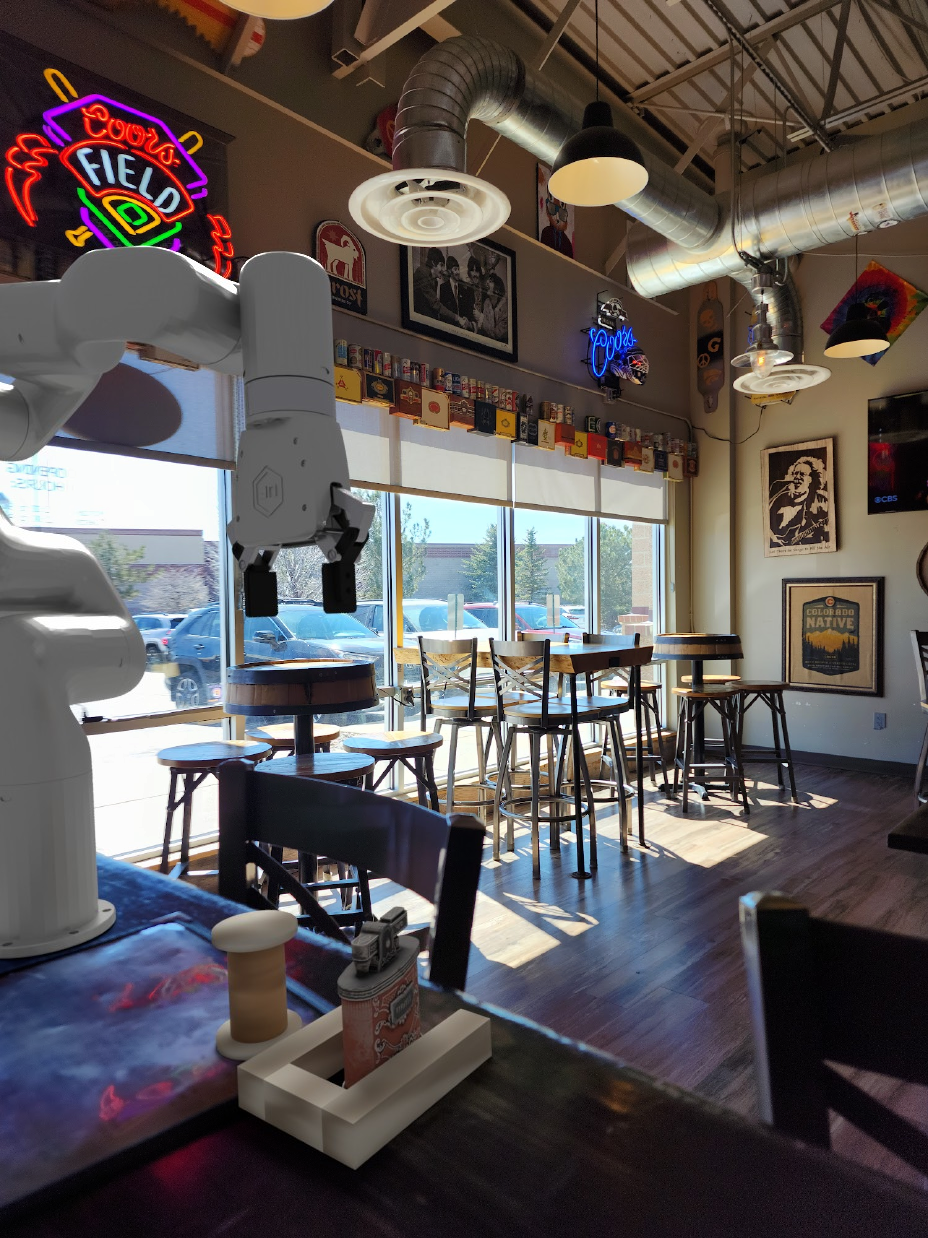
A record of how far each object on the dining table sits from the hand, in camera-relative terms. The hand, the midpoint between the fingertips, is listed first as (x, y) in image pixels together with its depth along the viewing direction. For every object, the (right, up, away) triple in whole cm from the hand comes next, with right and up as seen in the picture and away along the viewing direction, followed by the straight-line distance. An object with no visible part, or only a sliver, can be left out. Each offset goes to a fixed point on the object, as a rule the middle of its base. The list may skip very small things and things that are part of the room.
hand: (299, 615), depth 66 cm
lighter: (+9, -30, -15) cm, 35 cm away
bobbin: (-1, -30, -9) cm, 32 cm away
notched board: (+8, -30, -15) cm, 35 cm away
